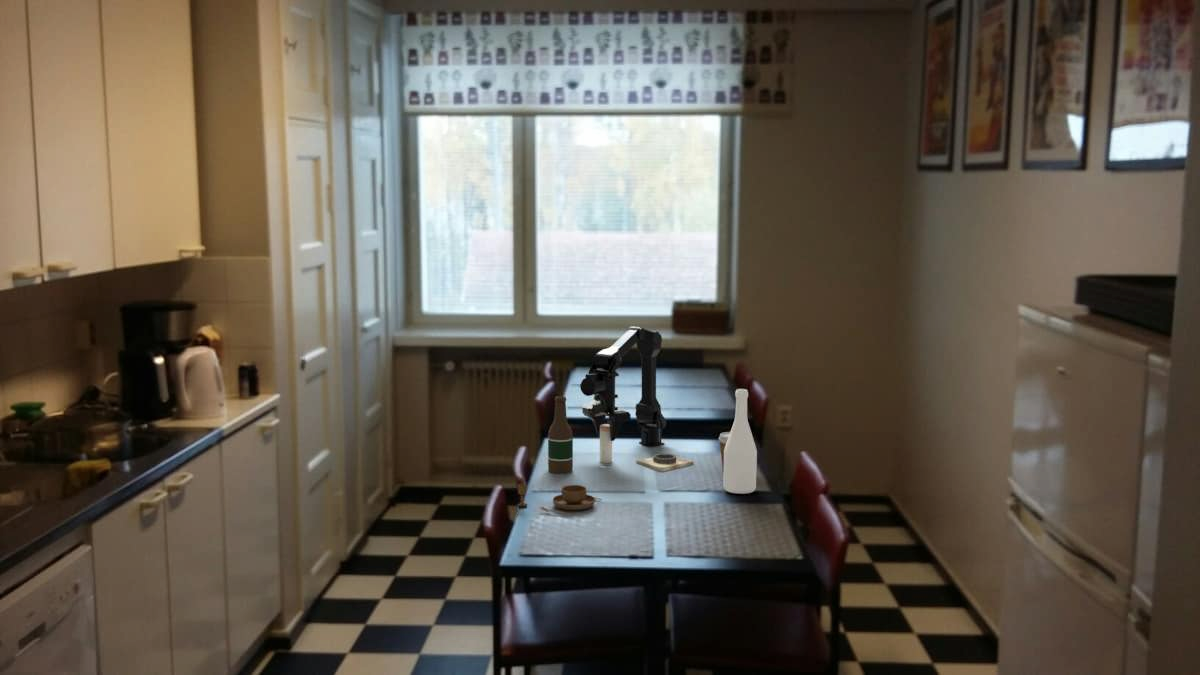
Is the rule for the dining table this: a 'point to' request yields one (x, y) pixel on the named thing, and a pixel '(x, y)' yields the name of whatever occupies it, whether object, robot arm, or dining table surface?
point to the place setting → (565, 498)
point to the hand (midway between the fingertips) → (606, 438)
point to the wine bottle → (740, 451)
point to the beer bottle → (560, 441)
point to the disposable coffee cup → (723, 445)
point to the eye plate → (665, 466)
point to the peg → (605, 444)
